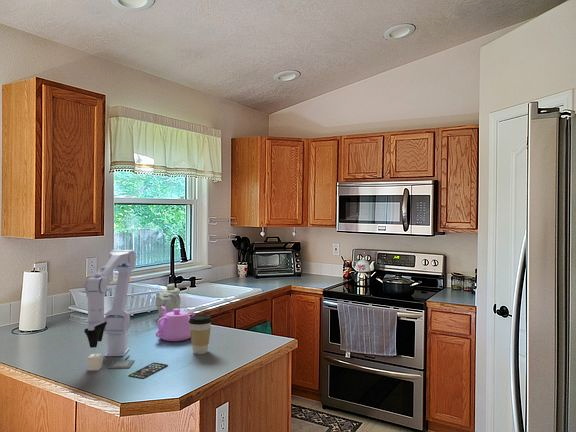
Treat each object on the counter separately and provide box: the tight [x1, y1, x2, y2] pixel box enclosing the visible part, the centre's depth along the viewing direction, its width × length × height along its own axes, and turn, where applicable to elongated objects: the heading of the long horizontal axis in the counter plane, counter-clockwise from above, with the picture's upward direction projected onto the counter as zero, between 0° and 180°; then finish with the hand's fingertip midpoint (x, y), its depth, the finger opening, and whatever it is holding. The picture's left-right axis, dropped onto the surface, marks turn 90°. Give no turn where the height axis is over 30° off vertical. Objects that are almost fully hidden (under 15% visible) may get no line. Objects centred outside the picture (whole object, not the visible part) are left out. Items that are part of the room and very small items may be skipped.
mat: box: [107, 359, 135, 370], centre depth 174 cm, size 8×8×1 cm
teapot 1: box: [155, 283, 182, 319], centre depth 249 cm, size 16×15×19 cm
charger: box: [87, 353, 103, 371], centre depth 170 cm, size 4×4×5 cm
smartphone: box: [127, 362, 169, 380], centre depth 168 cm, size 7×1×15 cm
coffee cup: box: [189, 314, 213, 355], centre depth 190 cm, size 10×10×15 cm
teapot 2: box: [155, 306, 196, 343], centre depth 212 cm, size 22×22×14 cm
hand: (96, 344), depth 170 cm, fingers open, 7 cm apart
